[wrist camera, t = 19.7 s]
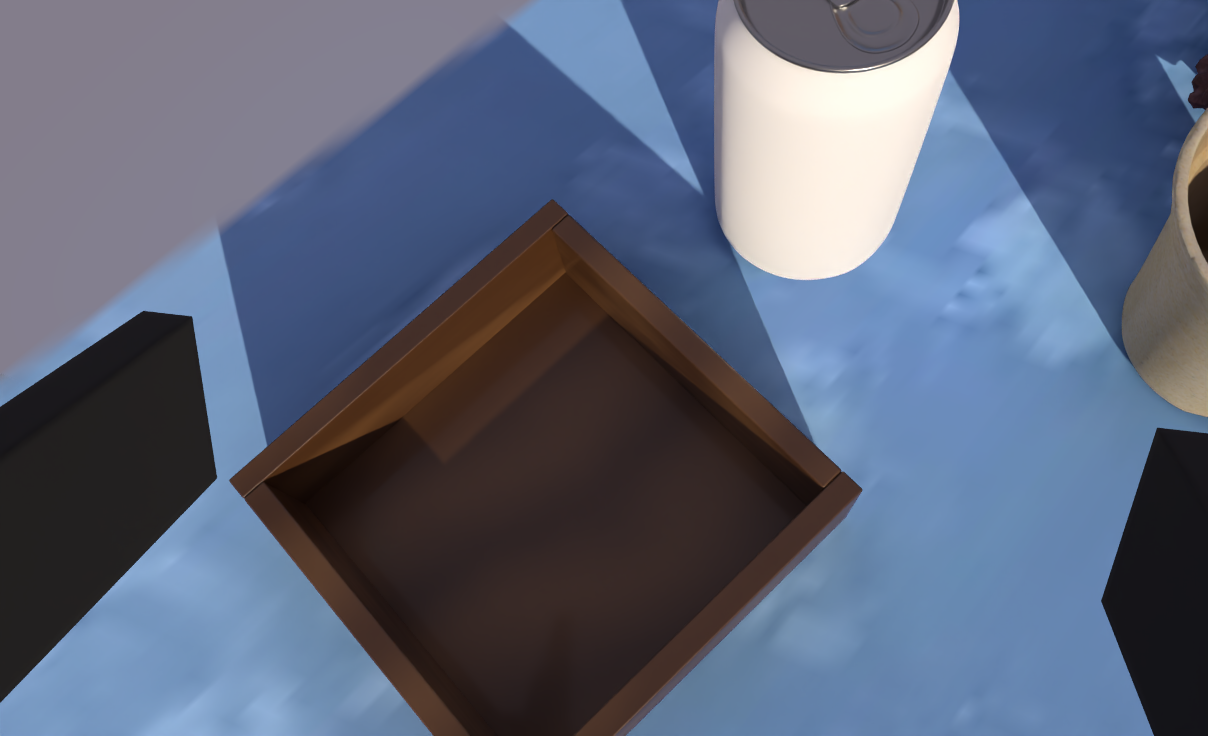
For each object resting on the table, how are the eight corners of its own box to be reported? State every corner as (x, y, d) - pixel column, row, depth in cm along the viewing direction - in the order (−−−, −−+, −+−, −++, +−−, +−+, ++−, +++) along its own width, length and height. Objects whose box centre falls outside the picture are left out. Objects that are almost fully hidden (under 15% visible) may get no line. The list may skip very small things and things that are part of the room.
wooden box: (279, 505, 35) (228, 479, 32) (568, 250, 38) (552, 197, 34) (537, 823, 31) (513, 836, 28) (846, 516, 33) (863, 489, 30)
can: (794, 320, 36) (831, 133, 24) (678, 194, 38) (662, -31, 27) (934, 213, 37) (1032, -17, 25) (812, 95, 39) (853, -165, 27)
